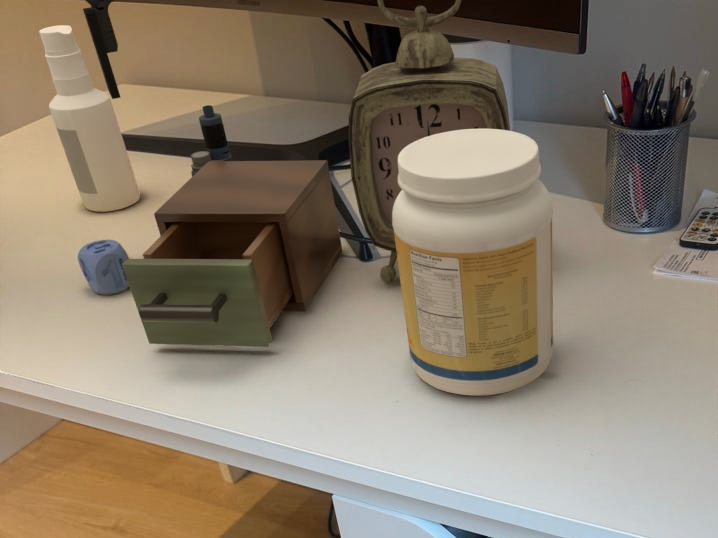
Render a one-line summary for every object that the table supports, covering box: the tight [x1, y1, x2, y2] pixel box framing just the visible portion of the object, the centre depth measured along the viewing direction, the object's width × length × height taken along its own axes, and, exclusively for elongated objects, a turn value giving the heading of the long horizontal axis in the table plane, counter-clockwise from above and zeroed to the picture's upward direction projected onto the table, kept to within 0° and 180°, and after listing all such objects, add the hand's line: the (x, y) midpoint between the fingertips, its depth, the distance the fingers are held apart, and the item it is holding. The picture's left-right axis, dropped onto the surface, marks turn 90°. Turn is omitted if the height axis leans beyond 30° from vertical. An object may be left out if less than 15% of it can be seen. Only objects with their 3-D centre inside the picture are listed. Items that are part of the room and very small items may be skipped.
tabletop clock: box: [347, 0, 511, 284], centre depth 82 cm, size 14×9×25 cm, turn 89°
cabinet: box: [153, 159, 343, 312], centre depth 89 cm, size 14×13×9 cm
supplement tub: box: [392, 129, 554, 397], centre depth 71 cm, size 12×12×17 cm
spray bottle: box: [38, 24, 141, 213], centre depth 104 cm, size 7×7×18 cm
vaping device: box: [190, 104, 233, 178], centre depth 98 cm, size 3×5×12 cm, turn 147°
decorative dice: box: [77, 239, 130, 295], centre depth 92 cm, size 4×4×4 cm
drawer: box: [122, 222, 294, 348], centre depth 81 cm, size 16×11×7 cm
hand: (39, 108), depth 82 cm, fingers open, 13 cm apart
